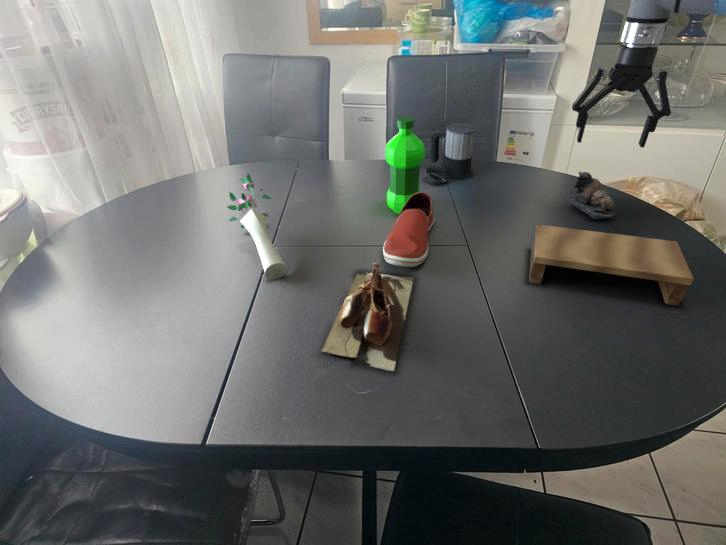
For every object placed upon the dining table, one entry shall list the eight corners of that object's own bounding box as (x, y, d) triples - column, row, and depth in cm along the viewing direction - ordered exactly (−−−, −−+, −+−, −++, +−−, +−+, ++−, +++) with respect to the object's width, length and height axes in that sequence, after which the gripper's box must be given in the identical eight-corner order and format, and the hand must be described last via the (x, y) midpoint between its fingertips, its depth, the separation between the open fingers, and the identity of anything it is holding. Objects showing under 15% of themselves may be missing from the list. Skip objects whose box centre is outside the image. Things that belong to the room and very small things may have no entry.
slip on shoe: (372, 273, 100) (371, 239, 94) (402, 214, 122) (403, 184, 117) (419, 281, 97) (421, 246, 92) (441, 219, 119) (444, 188, 114)
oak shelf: (665, 268, 98) (677, 241, 94) (679, 307, 87) (693, 278, 83) (530, 250, 105) (536, 224, 101) (528, 284, 95) (535, 256, 91)
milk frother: (472, 168, 147) (477, 123, 138) (470, 188, 134) (475, 140, 126) (428, 166, 150) (431, 121, 141) (423, 185, 137) (425, 138, 129)
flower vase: (265, 304, 104) (230, 214, 125) (312, 280, 105) (269, 194, 126) (243, 275, 94) (209, 183, 115) (295, 249, 95) (252, 162, 117)
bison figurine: (616, 219, 116) (628, 183, 110) (597, 226, 114) (608, 189, 108) (579, 202, 125) (589, 167, 119) (561, 207, 122) (569, 173, 117)
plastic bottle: (417, 221, 119) (421, 126, 104) (380, 215, 122) (378, 123, 108) (426, 205, 126) (431, 115, 112) (391, 200, 130) (391, 112, 115)
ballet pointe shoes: (314, 335, 75) (351, 247, 97) (318, 363, 78) (353, 272, 101) (395, 343, 72) (414, 251, 94) (395, 371, 76) (414, 276, 98)
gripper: (576, 46, 95) (554, 143, 107) (712, 49, 88) (672, 153, 101) (574, 40, 101) (553, 134, 113) (701, 43, 94) (665, 142, 106)
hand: (609, 143), depth 107 cm, fingers open, 13 cm apart
